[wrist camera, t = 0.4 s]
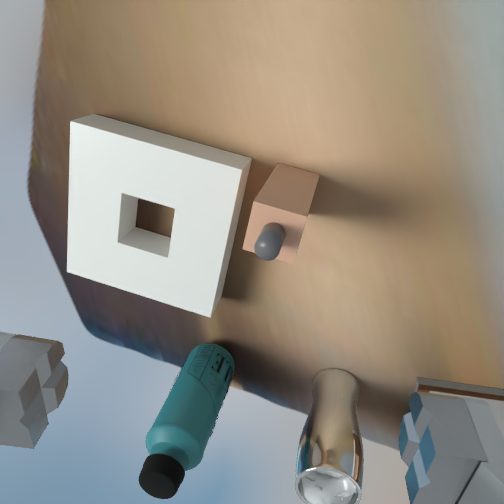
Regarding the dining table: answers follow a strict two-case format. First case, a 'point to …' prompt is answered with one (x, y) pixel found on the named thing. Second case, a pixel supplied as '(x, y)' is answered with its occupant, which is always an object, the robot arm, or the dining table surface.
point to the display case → (467, 395)
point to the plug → (280, 214)
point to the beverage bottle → (186, 420)
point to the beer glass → (331, 443)
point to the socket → (158, 191)
